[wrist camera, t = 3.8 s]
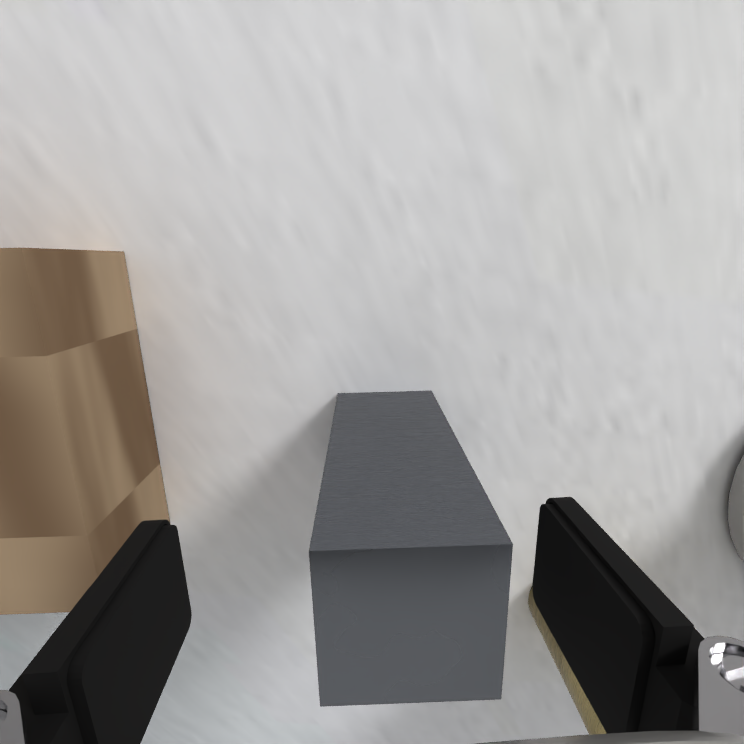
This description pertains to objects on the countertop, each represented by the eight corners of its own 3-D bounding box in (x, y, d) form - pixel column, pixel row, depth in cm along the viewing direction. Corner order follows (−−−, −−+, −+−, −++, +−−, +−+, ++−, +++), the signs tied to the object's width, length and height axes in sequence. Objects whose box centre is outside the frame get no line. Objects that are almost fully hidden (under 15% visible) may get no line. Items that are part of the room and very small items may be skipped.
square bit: (431, 390, 18) (512, 543, 8) (430, 475, 19) (501, 698, 9) (338, 393, 18) (309, 551, 8) (341, 477, 19) (320, 706, 9)
